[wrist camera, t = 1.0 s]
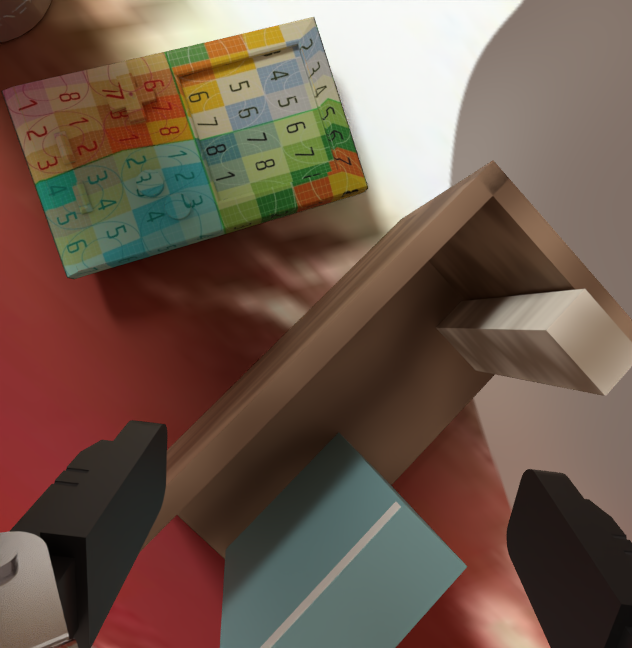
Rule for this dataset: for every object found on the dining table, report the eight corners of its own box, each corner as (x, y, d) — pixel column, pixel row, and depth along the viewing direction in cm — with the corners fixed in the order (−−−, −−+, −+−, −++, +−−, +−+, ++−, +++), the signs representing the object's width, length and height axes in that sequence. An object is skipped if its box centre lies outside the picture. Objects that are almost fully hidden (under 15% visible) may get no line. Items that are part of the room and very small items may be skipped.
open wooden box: (143, 473, 34) (75, 581, 20) (401, 219, 37) (504, 153, 23) (275, 595, 36) (300, 779, 21) (513, 341, 38) (676, 352, 24)
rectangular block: (225, 548, 33) (215, 707, 20) (338, 431, 35) (404, 503, 21) (267, 588, 34) (287, 770, 20) (377, 471, 35) (467, 567, 21)
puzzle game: (-7, 83, 29) (316, 7, 32) (27, 117, 33) (306, 48, 36) (61, 275, 29) (372, 183, 32) (85, 282, 34) (355, 201, 37)
